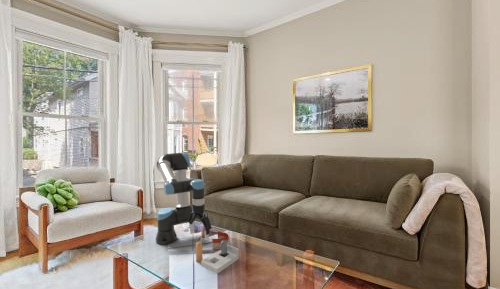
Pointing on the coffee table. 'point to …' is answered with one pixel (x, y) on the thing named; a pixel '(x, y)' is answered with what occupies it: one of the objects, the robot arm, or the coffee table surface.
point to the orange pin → (199, 252)
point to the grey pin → (223, 248)
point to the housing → (221, 259)
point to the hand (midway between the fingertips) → (199, 236)
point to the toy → (218, 241)
